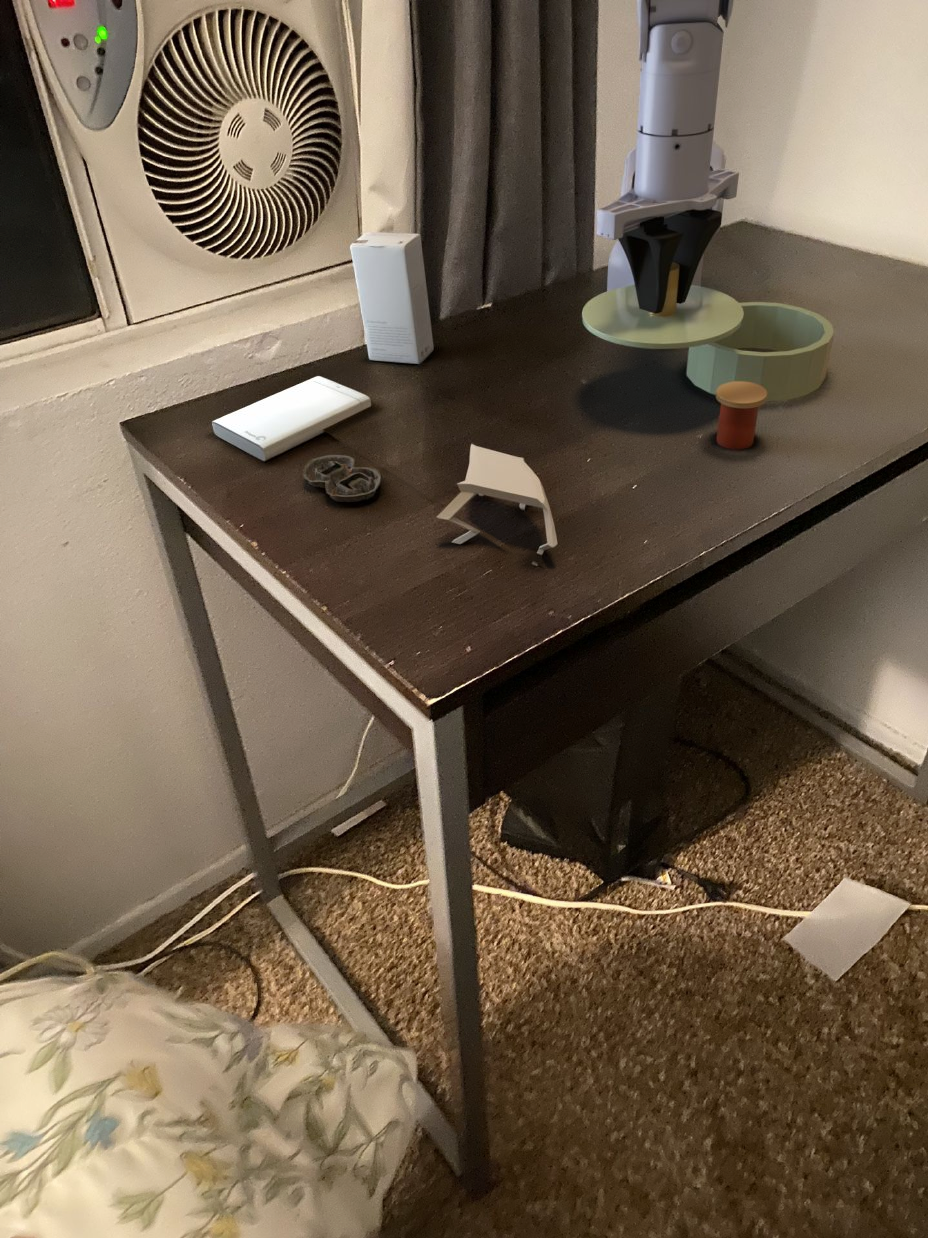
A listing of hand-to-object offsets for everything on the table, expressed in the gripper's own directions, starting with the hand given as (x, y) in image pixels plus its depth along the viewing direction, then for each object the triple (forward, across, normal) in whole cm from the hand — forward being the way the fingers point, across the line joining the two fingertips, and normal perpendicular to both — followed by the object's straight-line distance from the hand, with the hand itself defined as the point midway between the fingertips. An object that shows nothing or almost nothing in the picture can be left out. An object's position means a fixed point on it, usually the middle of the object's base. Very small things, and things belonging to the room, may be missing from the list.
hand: (661, 305), depth 77 cm
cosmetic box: (+10, -10, +27) cm, 30 cm away
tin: (+9, +11, -3) cm, 15 cm away
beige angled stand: (+10, -24, -6) cm, 26 cm away
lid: (+1, 0, 0) cm, 1 cm away
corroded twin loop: (+9, -29, +9) cm, 31 cm away
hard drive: (+10, -26, +22) cm, 35 cm away
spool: (+9, -1, -10) cm, 14 cm away
